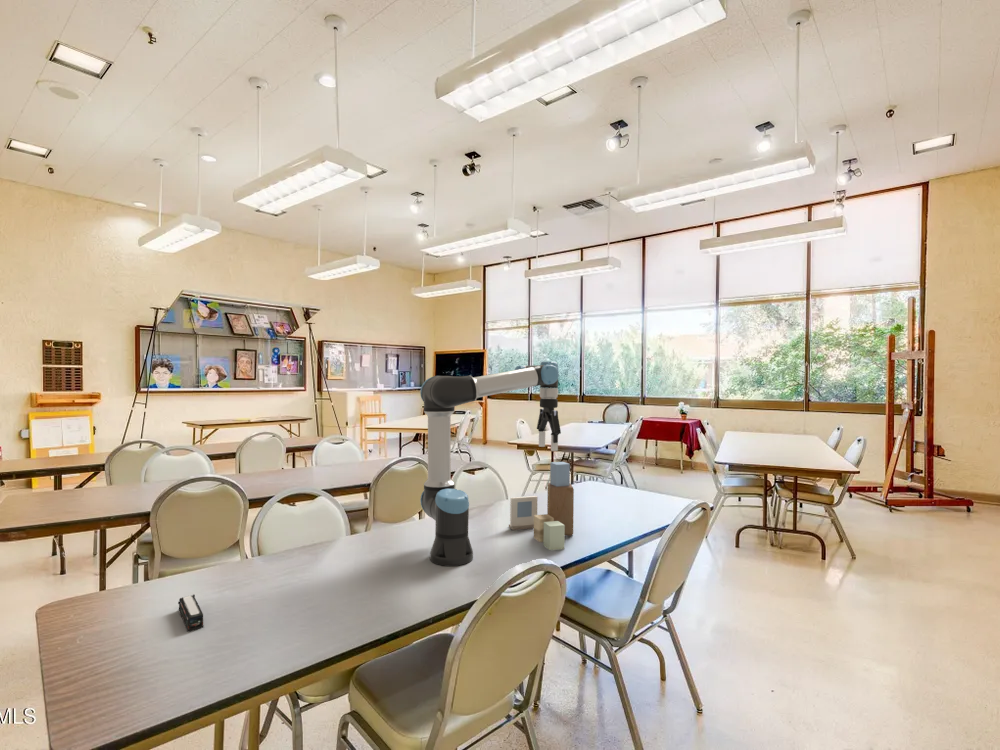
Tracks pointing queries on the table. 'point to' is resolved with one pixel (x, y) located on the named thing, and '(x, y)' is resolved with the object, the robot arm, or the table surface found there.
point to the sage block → (554, 535)
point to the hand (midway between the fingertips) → (547, 448)
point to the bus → (191, 613)
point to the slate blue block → (559, 474)
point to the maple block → (540, 526)
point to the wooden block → (561, 505)
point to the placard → (522, 512)
